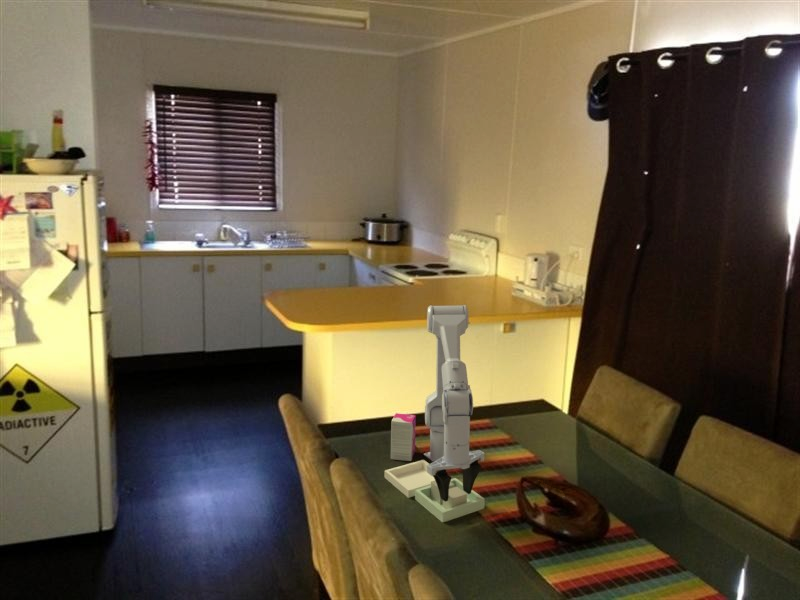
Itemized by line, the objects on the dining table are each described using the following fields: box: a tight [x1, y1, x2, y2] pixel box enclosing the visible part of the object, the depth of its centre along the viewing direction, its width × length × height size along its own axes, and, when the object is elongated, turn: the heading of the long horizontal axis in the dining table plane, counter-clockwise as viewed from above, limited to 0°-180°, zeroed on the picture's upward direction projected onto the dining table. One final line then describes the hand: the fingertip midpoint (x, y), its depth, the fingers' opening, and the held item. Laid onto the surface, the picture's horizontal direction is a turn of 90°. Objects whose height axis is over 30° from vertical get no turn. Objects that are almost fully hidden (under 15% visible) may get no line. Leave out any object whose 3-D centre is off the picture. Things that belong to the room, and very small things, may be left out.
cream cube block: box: [431, 481, 454, 504], centre depth 162 cm, size 4×4×4 cm
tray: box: [384, 459, 435, 499], centre depth 170 cm, size 12×12×2 cm
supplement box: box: [390, 413, 417, 462], centre depth 183 cm, size 6×6×12 cm
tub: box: [414, 477, 485, 523], centre depth 160 cm, size 12×12×3 cm
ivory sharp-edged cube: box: [442, 487, 467, 509], centre depth 158 cm, size 4×4×4 cm
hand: (455, 495), depth 157 cm, fingers open, 6 cm apart
